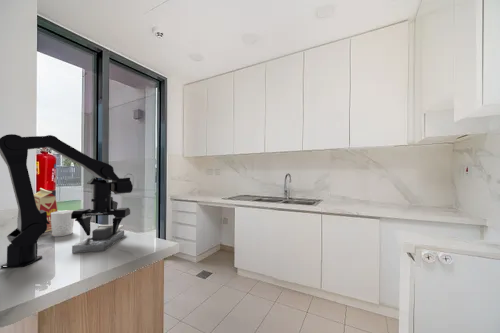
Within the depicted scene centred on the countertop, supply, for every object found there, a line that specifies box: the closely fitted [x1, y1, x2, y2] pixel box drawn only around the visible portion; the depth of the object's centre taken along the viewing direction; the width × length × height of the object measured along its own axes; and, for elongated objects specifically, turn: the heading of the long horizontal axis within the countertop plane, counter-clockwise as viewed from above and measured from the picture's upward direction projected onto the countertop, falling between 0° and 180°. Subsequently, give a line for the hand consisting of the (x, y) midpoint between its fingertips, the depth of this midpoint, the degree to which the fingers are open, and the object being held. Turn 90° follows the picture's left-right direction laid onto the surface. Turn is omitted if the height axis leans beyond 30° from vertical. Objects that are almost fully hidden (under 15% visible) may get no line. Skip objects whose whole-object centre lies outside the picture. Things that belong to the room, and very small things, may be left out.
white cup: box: [51, 209, 75, 237], centre depth 92 cm, size 8×8×10 cm
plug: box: [91, 227, 111, 240], centre depth 82 cm, size 4×4×5 cm
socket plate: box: [71, 229, 125, 254], centre depth 81 cm, size 17×10×2 cm, turn 10°
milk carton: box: [33, 187, 59, 233], centre depth 98 cm, size 9×9×20 cm
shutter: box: [97, 224, 124, 232], centre depth 89 cm, size 8×7×3 cm
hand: (101, 234), depth 81 cm, fingers open, 9 cm apart
